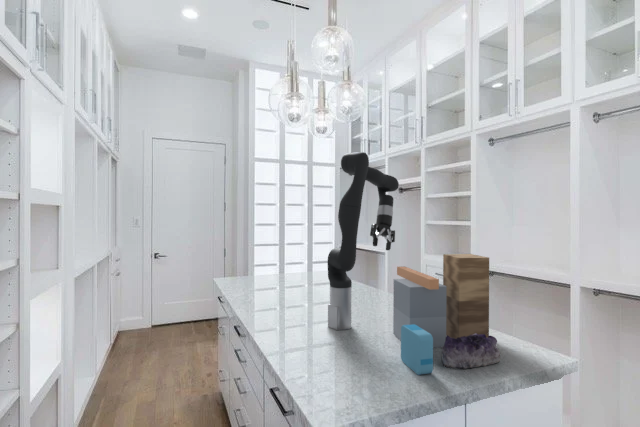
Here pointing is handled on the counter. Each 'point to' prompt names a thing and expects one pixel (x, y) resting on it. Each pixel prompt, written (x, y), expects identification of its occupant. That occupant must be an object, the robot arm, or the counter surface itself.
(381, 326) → the counter surface
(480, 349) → the geode
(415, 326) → the blue flat block
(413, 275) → the bar
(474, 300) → the tall tower
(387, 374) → the counter surface
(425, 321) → the low stand
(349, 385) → the counter surface
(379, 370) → the counter surface
